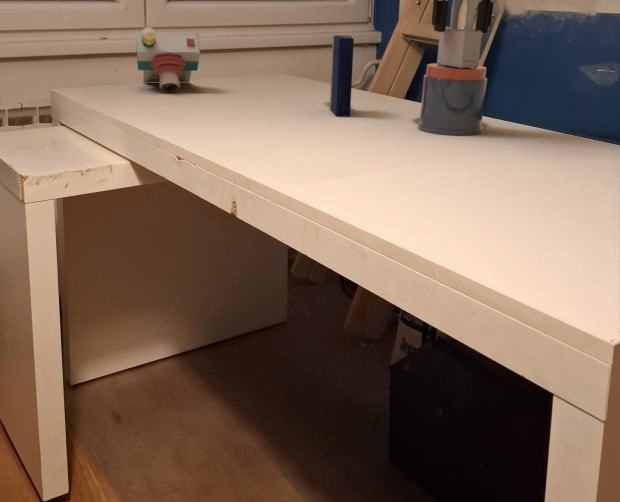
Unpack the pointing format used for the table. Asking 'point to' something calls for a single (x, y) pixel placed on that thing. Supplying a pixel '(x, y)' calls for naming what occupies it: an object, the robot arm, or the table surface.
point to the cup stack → (453, 100)
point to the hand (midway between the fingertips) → (460, 30)
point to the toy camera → (167, 57)
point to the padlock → (460, 40)
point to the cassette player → (341, 75)
